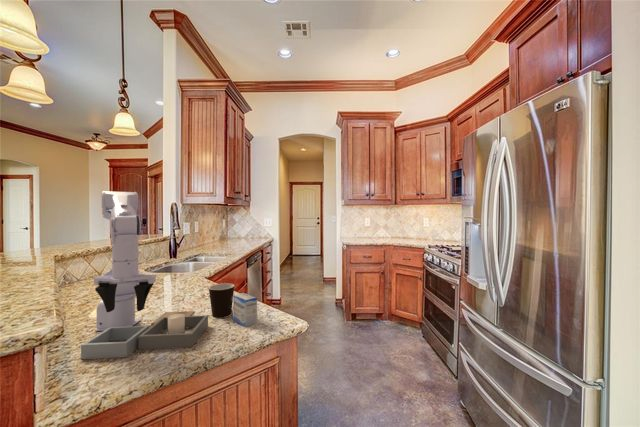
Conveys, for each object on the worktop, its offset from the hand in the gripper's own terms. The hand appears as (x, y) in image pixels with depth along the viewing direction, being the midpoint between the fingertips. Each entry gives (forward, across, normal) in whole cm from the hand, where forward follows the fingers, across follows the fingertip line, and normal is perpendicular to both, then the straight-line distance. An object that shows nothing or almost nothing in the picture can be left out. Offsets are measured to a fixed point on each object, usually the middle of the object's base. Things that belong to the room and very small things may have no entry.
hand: (125, 310), depth 73 cm
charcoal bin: (+10, +11, +5) cm, 16 cm away
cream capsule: (+10, +11, +5) cm, 16 cm away
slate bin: (+10, -2, 0) cm, 10 cm away
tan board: (+10, +4, +20) cm, 23 cm away
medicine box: (+10, +29, +14) cm, 34 cm away
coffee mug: (+10, +20, +23) cm, 32 cm away
